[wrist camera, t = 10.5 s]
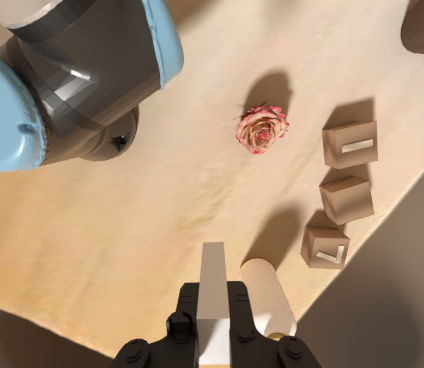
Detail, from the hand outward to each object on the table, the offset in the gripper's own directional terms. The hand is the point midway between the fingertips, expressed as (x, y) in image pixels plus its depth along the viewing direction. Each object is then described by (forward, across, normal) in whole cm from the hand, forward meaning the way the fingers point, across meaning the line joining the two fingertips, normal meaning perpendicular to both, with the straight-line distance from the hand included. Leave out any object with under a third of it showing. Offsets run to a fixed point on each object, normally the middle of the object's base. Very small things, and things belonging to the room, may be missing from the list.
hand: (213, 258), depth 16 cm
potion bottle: (+30, +9, -24) cm, 39 cm away
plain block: (+30, +26, -6) cm, 40 cm away
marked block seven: (+30, +23, -16) cm, 41 cm away
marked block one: (+30, +26, +6) cm, 39 cm away
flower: (+30, +9, +9) cm, 32 cm away
